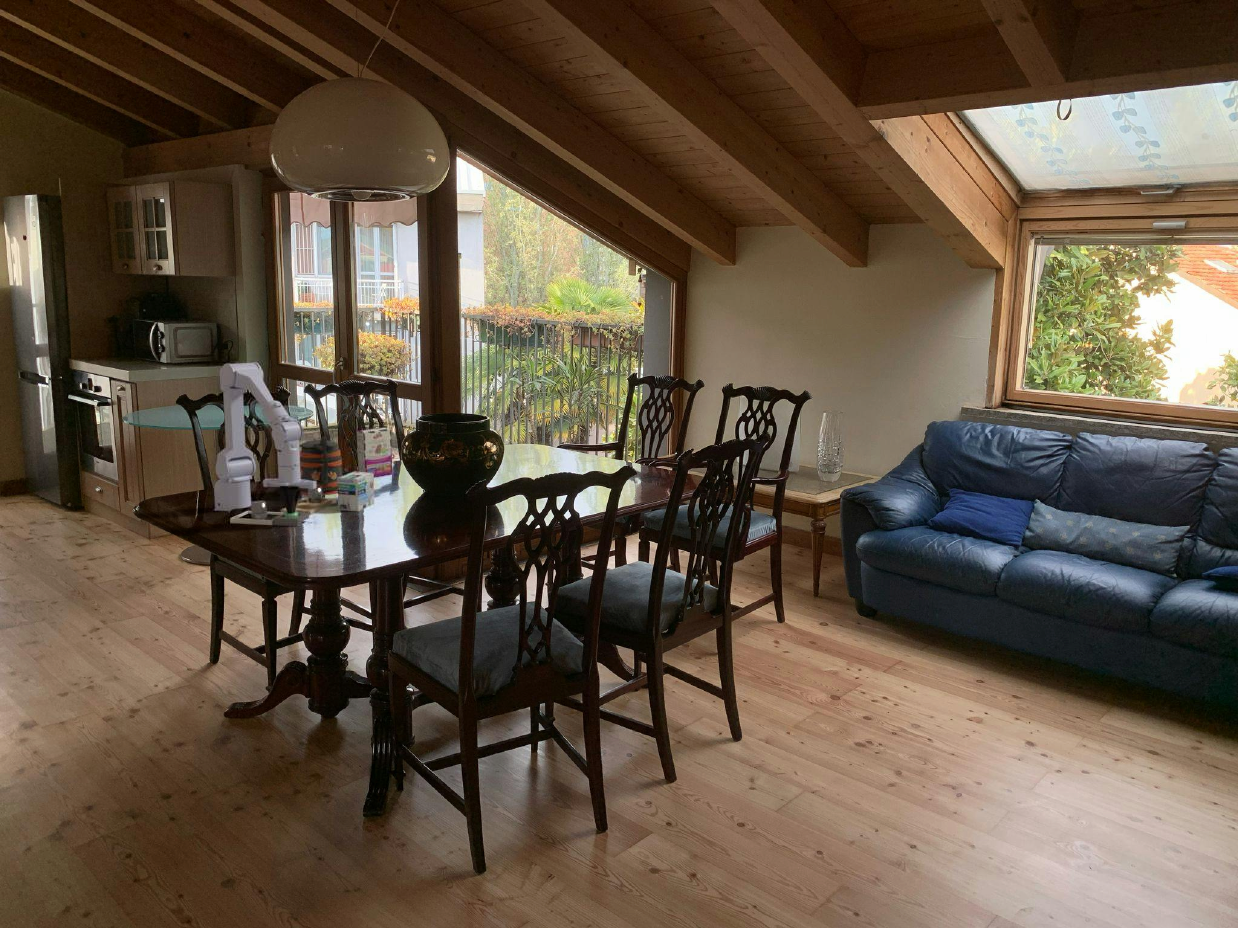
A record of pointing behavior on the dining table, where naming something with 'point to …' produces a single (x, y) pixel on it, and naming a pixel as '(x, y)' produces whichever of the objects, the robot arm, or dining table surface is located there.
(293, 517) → the button
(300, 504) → the pallet board
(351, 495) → the light bulb box
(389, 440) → the candy bar box
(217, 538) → the dining table surface
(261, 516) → the billet
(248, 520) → the white rectangular frame
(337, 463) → the grey orange striped backpack
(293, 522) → the console
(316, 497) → the billet
